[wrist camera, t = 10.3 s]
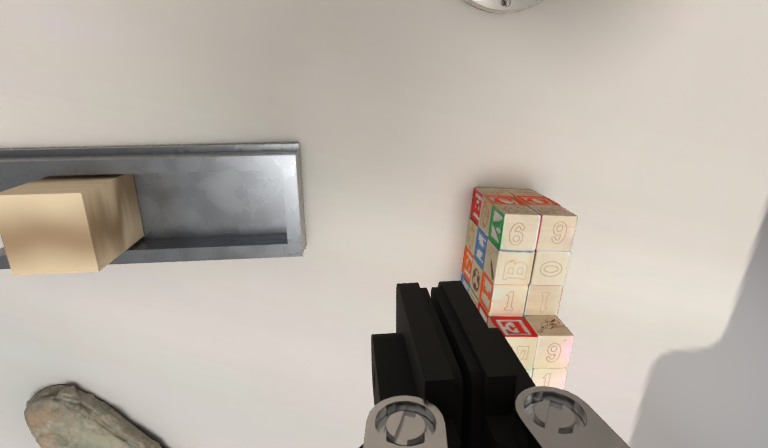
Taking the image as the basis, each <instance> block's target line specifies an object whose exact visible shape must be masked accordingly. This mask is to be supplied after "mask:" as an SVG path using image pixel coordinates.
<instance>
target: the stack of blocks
mask: <svg viewBox="0 0 768 448" xmlns="http://www.w3.org/2000/svg"><path fill="white" fill-rule="evenodd" d="M577 219H578V216H576V215H574V214H573V213H571V212H569V211H568V210H566V209H565V208H563V207H561V205H559V204H558V203H556V202H554V201H552V200H551V199H549V198H547V197H545V196H543V195H541V194H539V193H537V192H536V191H534V190H523V189H503V188H488V187H475V188H474V192H473V201H472V208H471V218H469V224H468V231H467V239H466V246H465V252H464V259H463V266H462V278H461V282H462V283H463V285H464V287H465V288H466V290H467V292H468V293H469V295H470V297H471V299H472V300H473V302H474V304H475V305H476V307H477V309H478V310H479V312H480V314H481V315H482V317H483V319H484V320H485V322H486V324H487V325H488V327H489V328H494V327H496V328H499V329H500V330H501V332H502V333H503V335H504V336H505V338H506V340H507V341H508V343H509V344H510V346H511V347H512V349H513V351H514V352H515V354H516V355H517V357H518V358H519V360H520V362H521V363H522V365H523V366H524V368H525V369H526V371H527V373H528V374H529V376H530V377H531V379H532V380H533V382H534V384H535V385H536V386H548V387H556V388H559V389H562V390H564V386H565V381H566V377H567V372H568V370H567V367H568V365H569V360H570V355H571V350H572V345H573V340H574V335H573V334H572V333H571V332H570V331H569V329H568V328H567V327H566V326H565V325H564V324H563V323H562V321H561V320H560V319H559V318H558V317H557V314H558V310H559V305H560V300H561V295H562V290H563V285H564V284H565V281H566V276H567V271H568V266H569V262H570V257H571V251H570V250H571V247H572V243H573V238H574V233H575V228H576V224H577Z"/></svg>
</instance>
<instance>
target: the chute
mask: <svg viewBox="0 0 768 448" xmlns="http://www.w3.org/2000/svg"><path fill="white" fill-rule="evenodd" d="M102 174H133V178H134V184H135V189H136V194H137V199H138V205H139V210H140V215H141V221H142V226H143V231H144V236H143V237H142V238H141V239H140V240H138V241H137V242H136V243H134V244H133V245H132V246H131V247H129V248H128V249H127V250H126V251H124V252H123V253H122V254H121V255H119V256H118V257H117V258H115V259H114V260H113V261H112V262H110V263H109V264H130V263H153V262H176V261H200V260H223V259H246V258H270V257H293V256H303V252H304V249H306V235H305V220H304V205H303V191H302V176H301V161H300V146H299V142H298V143H252V144H205V145H158V146H111V147H64V148H18V149H0V192H2V191H5V190H8V189H11V188H14V187H17V186H20V185H23V184H26V183H30V182H33V181H36V180H39V179H42V178H45V177H48V176H64V175H102ZM0 269H11V268H10V265H9V261H8V258H7V254H6V251H5V248H4V247H3V248H1V249H0Z"/></svg>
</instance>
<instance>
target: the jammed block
mask: <svg viewBox="0 0 768 448" xmlns="http://www.w3.org/2000/svg"><path fill="white" fill-rule="evenodd" d="M0 234H1V237H2V241H3V244H4V248H5V251H6V254H7V258H8V261H9V265H10V268H11V271H12V275H33V274H56V273H78V272H99V271H100V270H102V269H103V268H104V267H105V266H107V265H108V264H109V263H110V262H112V261H113V260H114V259H115V258H117V257H118V256H119V255H121V254H122V253H123V252H124V251H126V250H127V249H128V248H129V247H131V246H132V245H133V244H134V243H136V242H137V241H138V240H140V239H141V238H142V237H143V236H144V231H143V226H142V221H141V215H140V210H139V205H138V199H137V194H136V189H135V184H134V178H133V174H102V175H64V176H48V177H45V178H42V179H39V180H36V181H33V182H30V183H26V184H23V185H20V186H17V187H14V188H11V189H8V190H5V191H2V192H0Z"/></svg>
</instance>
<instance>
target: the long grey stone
mask: <svg viewBox="0 0 768 448" xmlns="http://www.w3.org/2000/svg"><path fill="white" fill-rule="evenodd" d="M26 406H27V408H26V409H25V411H24V415H25V420H26V422H27V425H28V427H29V429H30V431H31V433H32V435H33V436H34V437H35V438H36V441H37V443H38V444H39V445H40V446H41V448H162V447H161V446H160V444H159V443H158V442H156V441H154V440H152V439H150V438H149V437H148V436H147V435H145V434H144V433H143V432H141V431H140V430H138V428H137V427H136V426H134V425H133V424H132V423H130V422H129V420H127V419H126V418H124V417H123V416H122V415H121V414H119V413H118V412H117V411H116V410H114V409H113V408H112V407H111V406H109V405H107V404H106V403H104V402H103V401H100V400H98V399H97V398H96V397H95V396H94V394H89V393H85V392H83V391H81V390H79V389H77V388H75V386H67V385H57V386H56V385H54V386H51V387H48V388H45V389H43V390H42V391H40V392H39V393H37V394H36V395H35V396H34V397H32V398H31V399H30V400H29V401H28V402H27V404H26Z"/></svg>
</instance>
